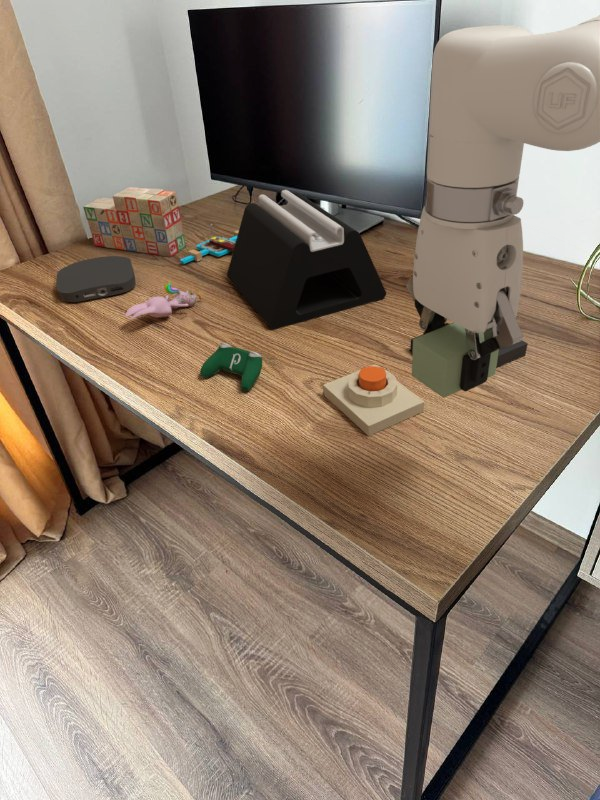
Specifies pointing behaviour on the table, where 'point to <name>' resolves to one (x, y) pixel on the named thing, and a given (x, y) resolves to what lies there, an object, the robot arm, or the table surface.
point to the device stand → (300, 262)
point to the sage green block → (443, 359)
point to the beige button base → (373, 402)
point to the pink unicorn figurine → (164, 303)
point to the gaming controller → (234, 364)
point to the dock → (503, 351)
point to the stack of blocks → (137, 221)
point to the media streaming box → (95, 278)
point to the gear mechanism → (212, 247)
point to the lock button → (372, 378)
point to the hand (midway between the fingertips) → (453, 371)
